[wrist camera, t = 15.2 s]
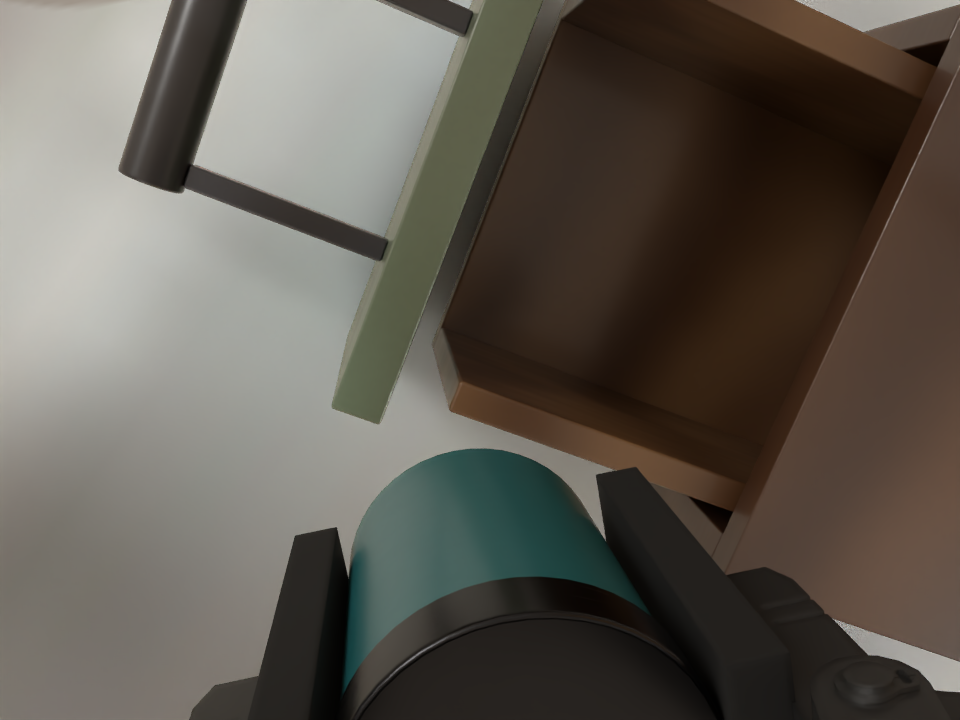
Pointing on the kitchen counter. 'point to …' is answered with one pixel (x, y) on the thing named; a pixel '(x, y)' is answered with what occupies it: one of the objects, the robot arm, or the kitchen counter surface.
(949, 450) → the cabinet
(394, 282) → the drawer
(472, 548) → the tin
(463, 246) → the kitchen counter surface
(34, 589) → the kitchen counter surface
